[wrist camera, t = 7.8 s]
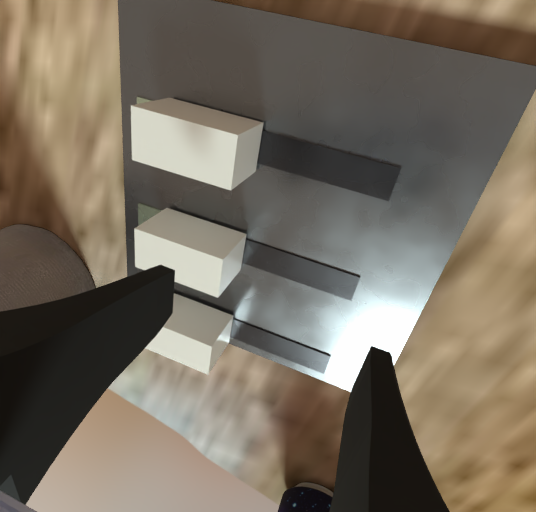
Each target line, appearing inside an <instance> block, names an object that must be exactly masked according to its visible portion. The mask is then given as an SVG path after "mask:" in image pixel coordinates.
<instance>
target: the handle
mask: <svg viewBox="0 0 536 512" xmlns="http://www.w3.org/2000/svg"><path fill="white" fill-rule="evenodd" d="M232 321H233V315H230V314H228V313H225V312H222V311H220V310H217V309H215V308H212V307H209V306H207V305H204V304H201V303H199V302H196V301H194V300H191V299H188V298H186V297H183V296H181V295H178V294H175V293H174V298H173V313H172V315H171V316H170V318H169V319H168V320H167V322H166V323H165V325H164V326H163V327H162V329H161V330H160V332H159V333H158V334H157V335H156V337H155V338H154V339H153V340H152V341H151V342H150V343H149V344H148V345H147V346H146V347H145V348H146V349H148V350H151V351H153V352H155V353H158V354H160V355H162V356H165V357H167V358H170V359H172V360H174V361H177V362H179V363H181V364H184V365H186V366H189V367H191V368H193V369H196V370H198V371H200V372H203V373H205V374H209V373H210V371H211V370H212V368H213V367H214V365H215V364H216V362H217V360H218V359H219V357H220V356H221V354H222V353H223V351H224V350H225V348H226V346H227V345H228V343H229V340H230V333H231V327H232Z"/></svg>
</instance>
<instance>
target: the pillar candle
mask: <svg viewBox="0 0 536 512" xmlns="http://www.w3.org/2000/svg"><path fill="white" fill-rule="evenodd" d="M92 289H95V285H94V283H93V280H92V278H91V275H90V273H89V272H88V270H87V268H86V267H85V265H84V263H83V261H82V260H81V259H80V258H79V257H78V255H77V254H76V253H75V252H74V251H73V250H72V249H71V248H70V247H69V245H68V244H66V243H65V242H64V241H63V240H61V239H60V238H59V237H57V236H56V235H55V234H54V233H52V232H50V231H48V230H45V229H42V228H38V227H33V226H29V225H22V224H16V225H12V226H8V227H6V228H3V229H1V230H0V311H7V310H12V309H17V308H23V307H28V306H33V305H38V304H43V303H47V302H51V301H55V300H59V299H63V298H66V297H70V296H73V295H77V294H80V293H83V292H86V291H89V290H92Z"/></svg>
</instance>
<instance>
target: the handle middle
mask: <svg viewBox="0 0 536 512" xmlns="http://www.w3.org/2000/svg"><path fill="white" fill-rule="evenodd" d="M134 237H135V267H137V268H140V269H142V270H147V269H149V268H152V267H155V266H158V265H163V266H165V267H168V268H171V269H173V270H175V281H174V282H177V283H180V284H182V285H185V286H188V287H190V288H193V289H196V290H198V291H201V292H204V293H206V294H209V295H212V296H214V297H217V298H218V297H219V296H220V295H221V294H222V292H223V291H224V290H225V289H226V287H227V286H228V285H229V284H230V282H231V281H232V280H233V279H234V277H235V276H236V275H237V274H238V272H239V271H240V270H241V265H242V259H243V253H244V247H245V240H246V234H245V233H242V232H239V231H236V230H233V229H230V228H227V227H224V226H221V225H218V224H215V223H212V222H209V221H206V220H202V219H199V218H196V217H193V216H190V215H187V214H184V213H181V212H178V211H175V210H172V209H169V208H166V209H164V210H162V211H161V212H159V213H158V214H156V215H155V216H153V217H151V218H150V219H148V220H147V221H145V222H144V223H142V224H141V225H139V226H137V227H136V228H134Z"/></svg>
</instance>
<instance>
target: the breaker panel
mask: <svg viewBox="0 0 536 512" xmlns="http://www.w3.org/2000/svg"><path fill="white" fill-rule="evenodd" d="M118 15H119V44H120V73H121V102H122V131H123V160H124V188H125V217H126V246H127V275H128V276H131V275H134V274H136V273H139V272H141V271H144V270H142V269H140V268H137V267H135V237H134V228H136V227H137V226H139V225H141V224H142V223H144V222H145V221H147V220H148V219H150V218H151V217H153V216H155V215H156V214H158V213H159V212H161V211H162V210H164V209H166V208H169V209H172V210H175V211H178V212H181V213H184V214H187V215H190V216H193V217H196V218H199V219H202V220H206V221H209V222H212V223H215V224H218V225H221V226H224V227H227V228H230V229H233V230H236V231H239V232H242V233H245V234H246V240H245V247H244V253H243V259H242V265H241V270H240V271H239V272H238V274H237V275H236V276H235V277H234V279H233V280H232V281H231V282H230V284H229V285H228V286H227V287H226V289H225V290H224V291H223V292H222V294H221V295H220V296H219V297H218V298H217V297H214V296H212V295H209V294H206V293H204V292H201V291H198V290H196V289H193V288H190V287H188V286H185V285H182V284H180V283H177V282H174V293H175V294H178V295H181V296H183V297H186V298H188V299H191V300H194V301H196V302H199V303H201V304H204V305H207V306H209V307H212V308H215V309H217V310H220V311H222V312H225V313H228V314H230V315H233V321H232V327H231V333H230V340H229V344H232V345H234V346H237V347H239V348H242V349H244V350H247V351H249V352H252V353H254V354H257V355H259V356H262V357H264V358H267V359H269V360H272V361H274V362H277V363H279V364H282V365H284V366H287V367H289V368H292V369H294V370H297V371H299V372H302V373H305V374H307V375H310V376H312V377H315V378H317V379H320V380H322V381H325V382H327V383H330V384H332V385H335V386H337V387H340V388H342V389H345V390H347V391H350V392H351V390H352V386H353V384H354V382H355V380H356V378H357V375H358V373H359V371H360V369H361V367H362V364H363V362H364V360H365V358H366V356H367V354H368V351H369V349H370V347H371V346H374V347H377V348H379V349H382V350H384V351H387V352H390V353H391V355H392V359H393V364H395V362H396V360H397V358H398V356H399V355H400V353H401V351H402V349H403V347H404V345H405V343H406V341H407V339H408V337H409V335H410V333H411V331H412V329H413V327H414V325H415V323H416V321H417V319H418V317H419V316H420V314H421V312H422V310H423V308H424V306H425V304H426V302H427V300H428V298H429V296H430V294H431V292H432V290H433V288H434V286H435V284H436V282H437V280H438V279H439V277H440V275H441V273H442V271H443V269H444V267H445V265H446V263H447V261H448V259H449V257H450V255H451V253H452V251H453V249H454V247H455V245H456V243H457V241H458V240H459V238H460V236H461V234H462V232H463V230H464V228H465V226H466V224H467V222H468V220H469V218H470V216H471V214H472V212H473V210H474V208H475V206H476V204H477V202H478V201H479V199H480V197H481V195H482V193H483V191H484V189H485V187H486V185H487V183H488V181H489V179H490V177H491V175H492V173H493V171H494V169H495V167H496V165H497V163H498V162H499V160H500V158H501V156H502V154H503V152H504V150H505V148H506V146H507V144H508V142H509V140H510V138H511V136H512V134H513V132H514V130H515V128H516V126H517V124H518V123H519V121H520V119H521V117H522V115H523V113H524V111H525V109H526V107H527V105H528V103H529V101H530V99H531V97H532V95H533V93H534V91H535V89H536V66H533V65H528V64H523V63H518V62H513V61H508V60H504V59H499V58H494V57H489V56H484V55H479V54H474V53H469V52H464V51H459V50H454V49H449V48H444V47H439V46H434V45H430V44H425V43H420V42H415V41H410V40H405V39H400V38H395V37H390V36H385V35H380V34H375V33H370V32H365V31H360V30H355V29H351V28H346V27H341V26H336V25H331V24H326V23H321V22H316V21H311V20H306V19H301V18H296V17H291V16H286V15H281V14H277V13H272V12H267V11H262V10H257V9H252V8H247V7H242V6H237V5H232V4H227V3H222V2H217V1H212V0H118ZM165 98H173V99H177V100H180V101H184V102H188V103H192V104H195V105H199V106H203V107H207V108H211V109H214V110H218V111H222V112H226V113H229V114H233V115H237V116H241V117H244V118H248V119H252V120H256V121H259V122H263V129H262V135H261V142H260V148H259V154H258V160H257V166H256V172H254V173H253V174H252V175H251V176H249V177H248V178H247V179H245V180H244V181H243V182H241V183H240V184H239V185H238V186H236V187H235V188H234V189H232V190H227V189H224V188H221V187H218V186H214V185H211V184H208V183H205V182H202V181H198V180H195V179H192V178H189V177H185V176H182V175H179V174H176V173H173V172H169V171H166V170H163V169H160V168H156V167H153V166H150V165H147V164H143V163H140V162H137V161H134V160H132V140H131V105H135V104H140V103H145V102H150V101H155V100H160V99H165Z"/></svg>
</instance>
